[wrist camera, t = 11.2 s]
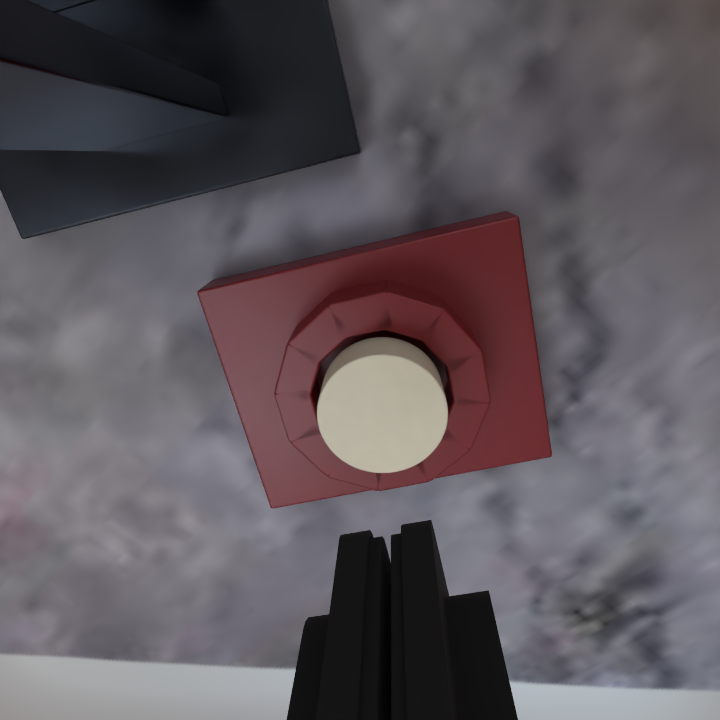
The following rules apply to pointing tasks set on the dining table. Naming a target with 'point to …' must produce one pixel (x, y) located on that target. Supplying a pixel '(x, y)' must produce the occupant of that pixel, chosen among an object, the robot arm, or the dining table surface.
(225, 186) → the switch bracket
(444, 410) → the warm button
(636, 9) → the dining table surface
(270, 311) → the button base
